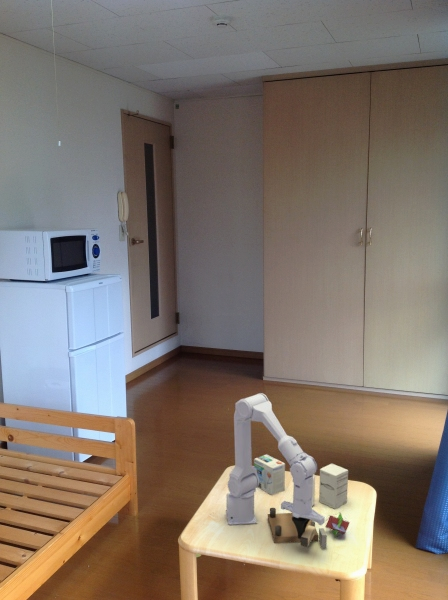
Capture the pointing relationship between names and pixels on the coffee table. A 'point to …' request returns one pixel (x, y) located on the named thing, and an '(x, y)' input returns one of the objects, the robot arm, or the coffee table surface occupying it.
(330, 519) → the geometric puzzle
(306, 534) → the hinged leg
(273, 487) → the light bulb box
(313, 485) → the can
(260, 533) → the coffee table surface
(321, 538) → the block
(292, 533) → the stool seat
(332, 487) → the supplement box
